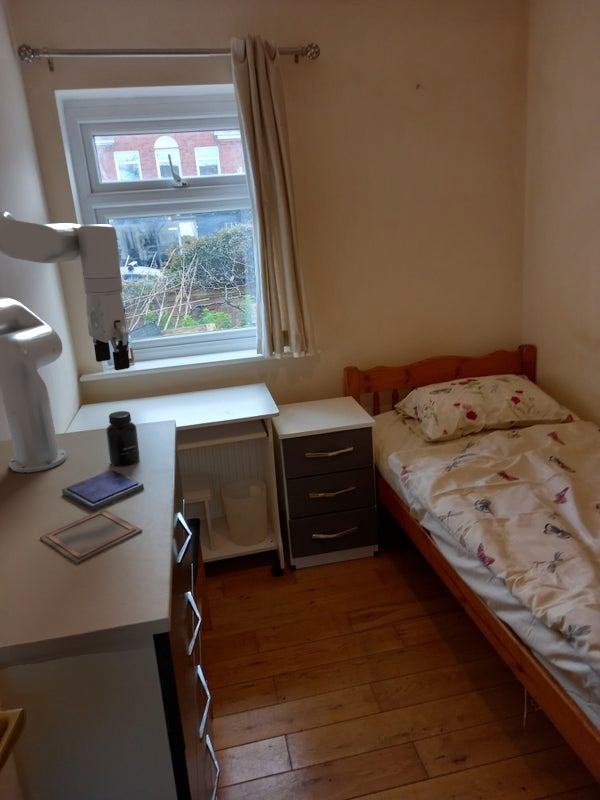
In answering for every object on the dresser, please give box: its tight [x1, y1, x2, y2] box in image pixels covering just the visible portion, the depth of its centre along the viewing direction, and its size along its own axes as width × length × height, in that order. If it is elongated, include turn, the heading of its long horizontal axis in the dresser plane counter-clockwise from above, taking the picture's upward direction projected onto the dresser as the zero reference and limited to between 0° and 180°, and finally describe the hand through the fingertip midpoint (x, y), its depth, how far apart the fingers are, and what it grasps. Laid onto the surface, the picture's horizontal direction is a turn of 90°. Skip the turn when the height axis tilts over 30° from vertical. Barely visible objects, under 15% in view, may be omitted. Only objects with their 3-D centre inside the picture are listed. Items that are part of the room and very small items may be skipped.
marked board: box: [39, 508, 143, 565], centre depth 104 cm, size 13×13×1 cm
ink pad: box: [61, 469, 145, 512], centre depth 120 cm, size 12×12×2 cm
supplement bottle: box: [105, 410, 140, 467], centre depth 133 cm, size 7×7×12 cm
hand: (112, 364), depth 124 cm, fingers open, 9 cm apart
